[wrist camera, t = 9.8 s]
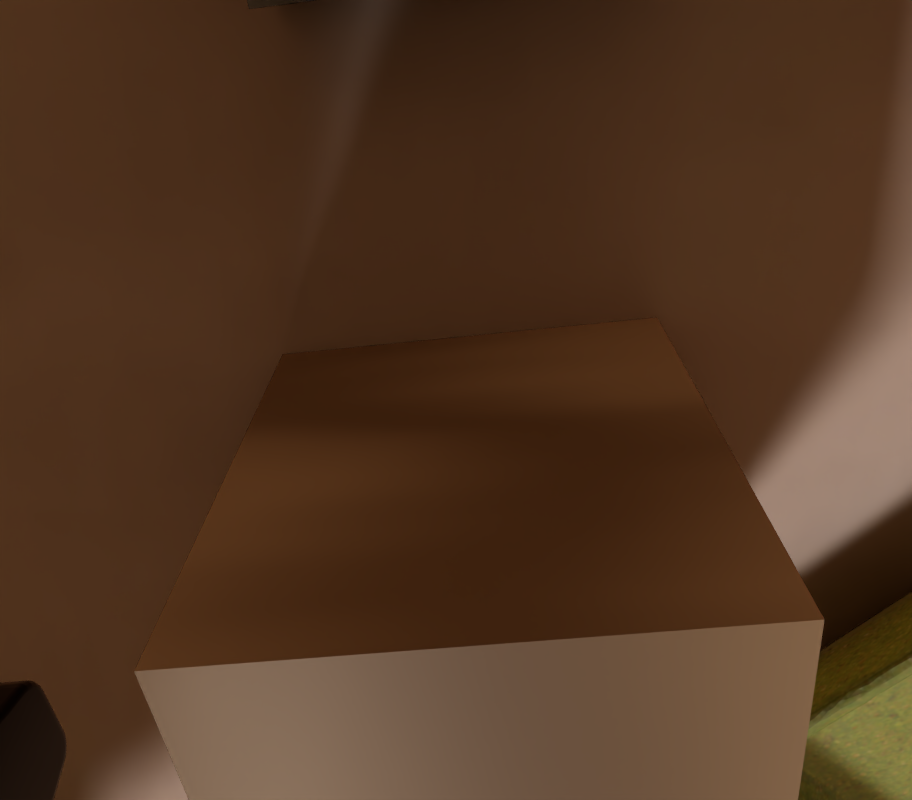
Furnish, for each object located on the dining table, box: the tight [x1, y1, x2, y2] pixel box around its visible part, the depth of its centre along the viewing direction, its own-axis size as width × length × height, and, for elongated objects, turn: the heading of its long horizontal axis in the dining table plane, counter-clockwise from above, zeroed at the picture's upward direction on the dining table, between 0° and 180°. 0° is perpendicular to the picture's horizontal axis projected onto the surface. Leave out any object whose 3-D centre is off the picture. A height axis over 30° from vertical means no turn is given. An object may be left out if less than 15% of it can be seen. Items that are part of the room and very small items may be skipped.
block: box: [134, 317, 824, 800], centre depth 8 cm, size 4×4×5 cm
